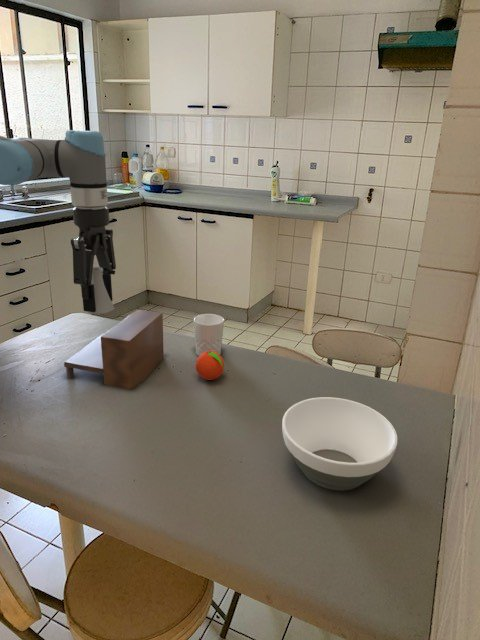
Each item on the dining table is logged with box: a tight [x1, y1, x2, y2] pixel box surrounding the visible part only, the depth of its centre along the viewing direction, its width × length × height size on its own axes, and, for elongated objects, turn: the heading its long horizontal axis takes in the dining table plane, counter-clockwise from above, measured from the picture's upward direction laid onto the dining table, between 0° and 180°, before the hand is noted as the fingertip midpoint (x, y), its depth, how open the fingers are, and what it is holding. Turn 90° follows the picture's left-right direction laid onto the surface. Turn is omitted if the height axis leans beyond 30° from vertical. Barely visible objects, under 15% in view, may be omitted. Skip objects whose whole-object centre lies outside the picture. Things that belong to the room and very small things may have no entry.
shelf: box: [63, 309, 165, 391], centre depth 113 cm, size 17×18×13 cm
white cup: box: [193, 313, 225, 357], centre depth 124 cm, size 8×8×10 cm
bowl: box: [281, 396, 398, 491], centre depth 82 cm, size 20×20×10 cm
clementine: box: [195, 351, 225, 381], centre depth 111 cm, size 8×7×7 cm
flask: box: [83, 266, 116, 315], centre depth 108 cm, size 7×7×10 cm
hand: (98, 305), depth 109 cm, fingers closed on flask, 7 cm apart
